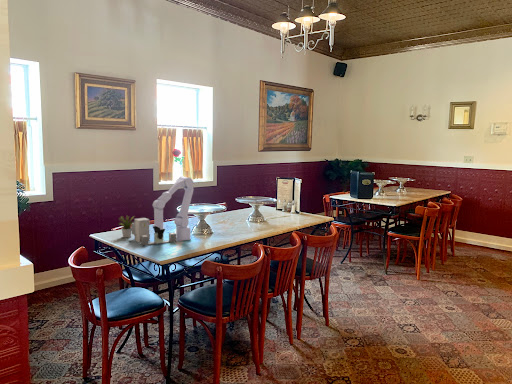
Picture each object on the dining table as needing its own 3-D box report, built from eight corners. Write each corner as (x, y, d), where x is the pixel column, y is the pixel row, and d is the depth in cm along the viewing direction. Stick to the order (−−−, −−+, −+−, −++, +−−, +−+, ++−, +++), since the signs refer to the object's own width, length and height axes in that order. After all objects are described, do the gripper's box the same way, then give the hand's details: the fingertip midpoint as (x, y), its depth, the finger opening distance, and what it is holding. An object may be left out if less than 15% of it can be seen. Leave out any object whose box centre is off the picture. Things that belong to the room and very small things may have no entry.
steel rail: (175, 240, 268) (175, 239, 268) (177, 242, 264) (177, 240, 264) (140, 244, 256) (140, 243, 256) (141, 245, 253) (141, 244, 253)
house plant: (112, 239, 267) (112, 216, 265) (116, 235, 281) (115, 212, 279) (134, 239, 270) (133, 216, 268) (136, 234, 284) (136, 212, 282)
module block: (161, 241, 263) (161, 232, 262) (163, 242, 259) (163, 233, 258) (154, 241, 261) (154, 233, 260) (156, 243, 257) (155, 234, 256)
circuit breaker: (141, 236, 277) (140, 216, 275) (150, 240, 266) (149, 219, 264) (130, 238, 272) (130, 217, 270) (139, 242, 261) (139, 220, 259)
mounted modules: (173, 239, 268) (173, 232, 267) (176, 241, 263) (176, 233, 263) (141, 242, 257) (141, 235, 256) (143, 244, 253) (142, 236, 252)
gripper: (149, 216, 262) (150, 236, 264) (155, 220, 250) (155, 240, 252) (160, 215, 266) (160, 235, 268) (166, 219, 253) (166, 239, 255)
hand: (158, 237), depth 260 cm, fingers open, 7 cm apart
